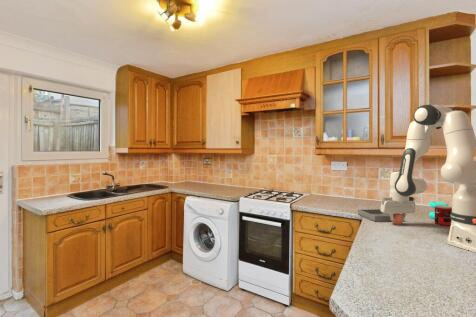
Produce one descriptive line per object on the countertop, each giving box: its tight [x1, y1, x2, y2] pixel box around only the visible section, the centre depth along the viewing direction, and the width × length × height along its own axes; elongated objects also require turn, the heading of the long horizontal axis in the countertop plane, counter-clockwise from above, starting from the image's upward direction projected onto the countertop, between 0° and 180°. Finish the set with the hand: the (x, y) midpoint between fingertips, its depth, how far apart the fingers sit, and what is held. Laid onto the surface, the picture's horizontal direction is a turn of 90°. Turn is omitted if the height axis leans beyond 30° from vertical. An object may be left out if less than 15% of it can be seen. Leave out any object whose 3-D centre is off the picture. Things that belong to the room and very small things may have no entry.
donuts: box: [428, 201, 449, 219], centre depth 166 cm, size 10×10×10 cm
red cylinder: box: [392, 213, 403, 226], centre depth 151 cm, size 5×5×6 cm
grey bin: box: [357, 208, 393, 223], centre depth 165 cm, size 18×18×4 cm
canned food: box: [433, 205, 452, 227], centre depth 151 cm, size 8×8×11 cm
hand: (397, 220), depth 151 cm, fingers closed on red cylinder, 5 cm apart
